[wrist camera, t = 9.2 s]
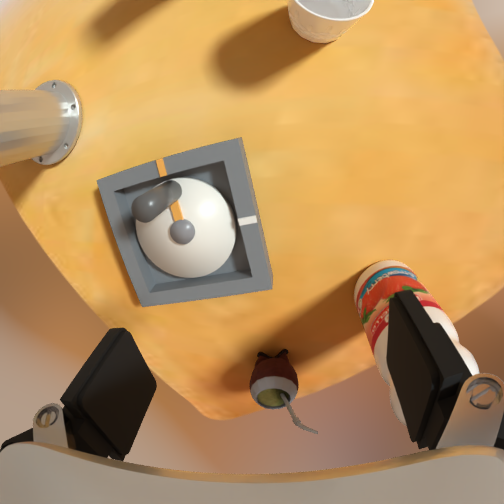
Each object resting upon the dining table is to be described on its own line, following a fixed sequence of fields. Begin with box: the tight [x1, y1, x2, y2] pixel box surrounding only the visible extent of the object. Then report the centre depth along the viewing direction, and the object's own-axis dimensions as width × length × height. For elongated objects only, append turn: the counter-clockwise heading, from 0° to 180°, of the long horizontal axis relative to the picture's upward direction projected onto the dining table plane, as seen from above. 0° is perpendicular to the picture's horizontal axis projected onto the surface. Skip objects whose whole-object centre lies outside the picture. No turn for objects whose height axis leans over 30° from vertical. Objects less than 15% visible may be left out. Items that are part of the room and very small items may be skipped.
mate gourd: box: [250, 349, 318, 434], centre depth 39 cm, size 8×8×15 cm
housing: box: [97, 137, 273, 307], centre depth 36 cm, size 18×18×4 cm
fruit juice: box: [354, 260, 479, 426], centre depth 27 cm, size 9×9×28 cm
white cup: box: [287, 0, 374, 43], centre depth 22 cm, size 8×8×10 cm
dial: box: [131, 177, 237, 278], centre depth 33 cm, size 13×13×9 cm
